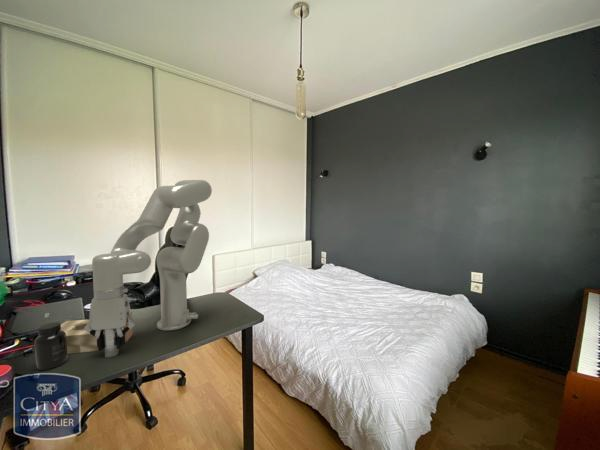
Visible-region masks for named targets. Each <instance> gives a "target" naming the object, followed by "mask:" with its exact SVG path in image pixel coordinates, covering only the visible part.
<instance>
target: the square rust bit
mask: <svg viewBox="0 0 600 450" xmlns="http://www.w3.org/2000/svg"><path fill="white" fill-rule="evenodd" d="M130 312H131V318H132V319H133V312H132V311H130ZM128 325H129V324H128V323H126V325H125V327H127V326H128ZM133 333H134V332H133V327H132V328H131V329H129V330H128V331H127V332H126V333H125V342H128V341H129V340H130V339H131V337H132V336H133Z"/></svg>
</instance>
